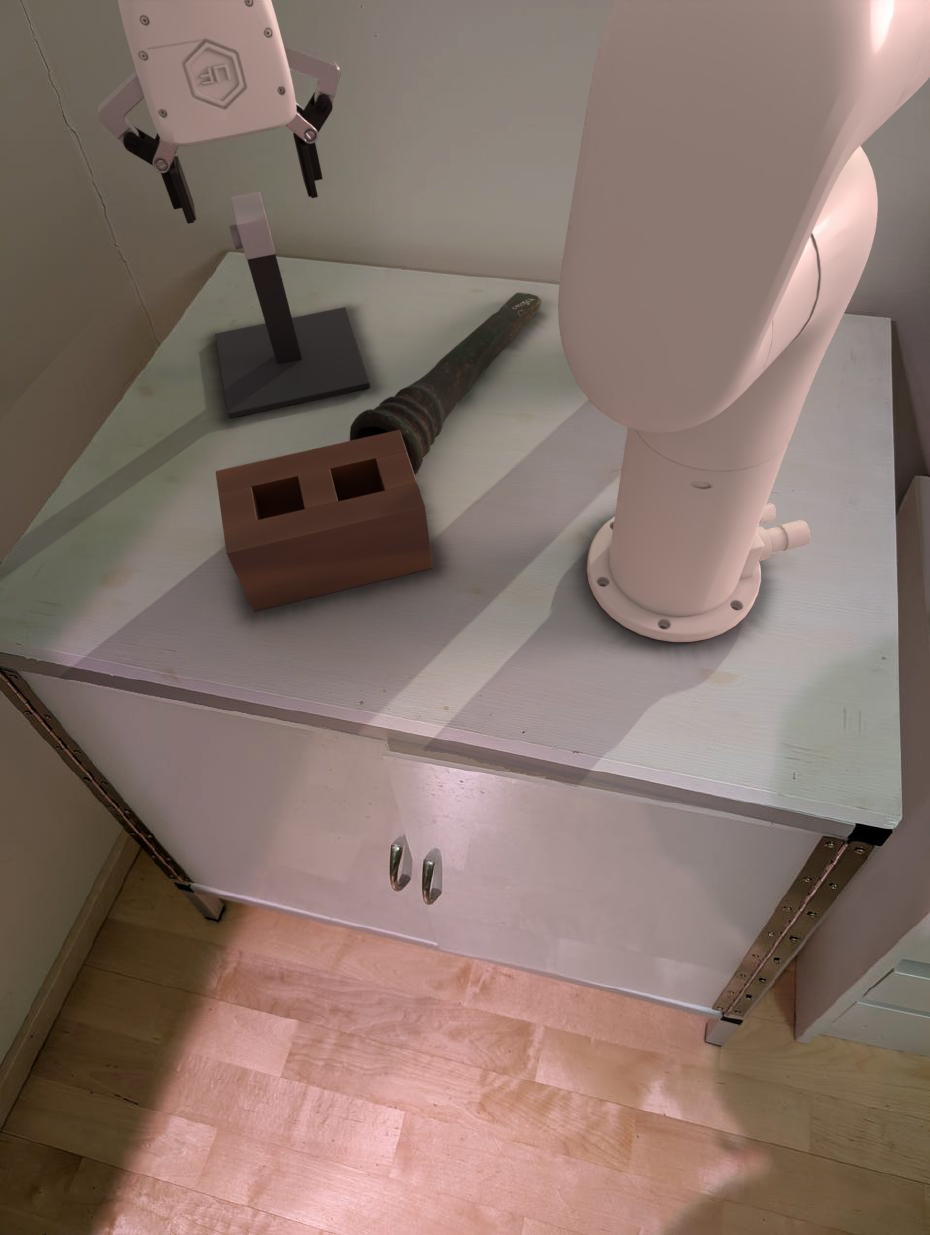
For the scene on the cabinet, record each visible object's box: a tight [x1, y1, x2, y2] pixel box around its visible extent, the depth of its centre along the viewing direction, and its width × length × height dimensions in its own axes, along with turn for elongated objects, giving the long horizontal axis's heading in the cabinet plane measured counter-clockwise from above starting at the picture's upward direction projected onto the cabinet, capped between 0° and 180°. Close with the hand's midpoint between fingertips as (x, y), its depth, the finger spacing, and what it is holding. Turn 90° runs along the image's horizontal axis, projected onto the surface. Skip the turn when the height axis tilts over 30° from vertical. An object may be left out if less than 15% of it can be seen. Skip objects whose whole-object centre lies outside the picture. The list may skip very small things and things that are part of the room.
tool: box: [349, 292, 542, 476], centre depth 73 cm, size 28×6×7 cm, turn 147°
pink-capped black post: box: [229, 191, 302, 364], centre depth 73 cm, size 3×4×14 cm
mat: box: [214, 306, 371, 419], centre depth 79 cm, size 13×12×1 cm
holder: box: [215, 430, 434, 613], centre depth 63 cm, size 8×14×7 cm, turn 105°
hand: (251, 202), depth 66 cm, fingers open, 9 cm apart
